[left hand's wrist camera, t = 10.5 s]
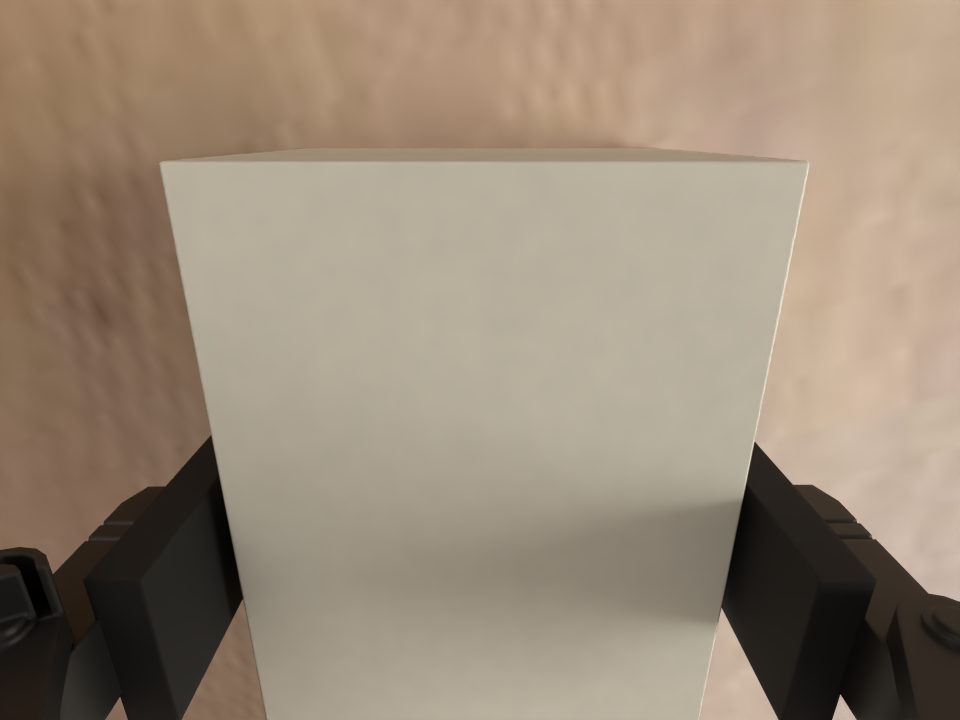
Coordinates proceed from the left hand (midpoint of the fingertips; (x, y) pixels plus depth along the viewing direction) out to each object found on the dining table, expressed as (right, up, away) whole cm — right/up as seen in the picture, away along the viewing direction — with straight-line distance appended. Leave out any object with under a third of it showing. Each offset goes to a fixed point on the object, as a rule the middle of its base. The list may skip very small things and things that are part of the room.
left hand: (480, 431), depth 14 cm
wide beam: (0, -24, +12) cm, 27 cm away
